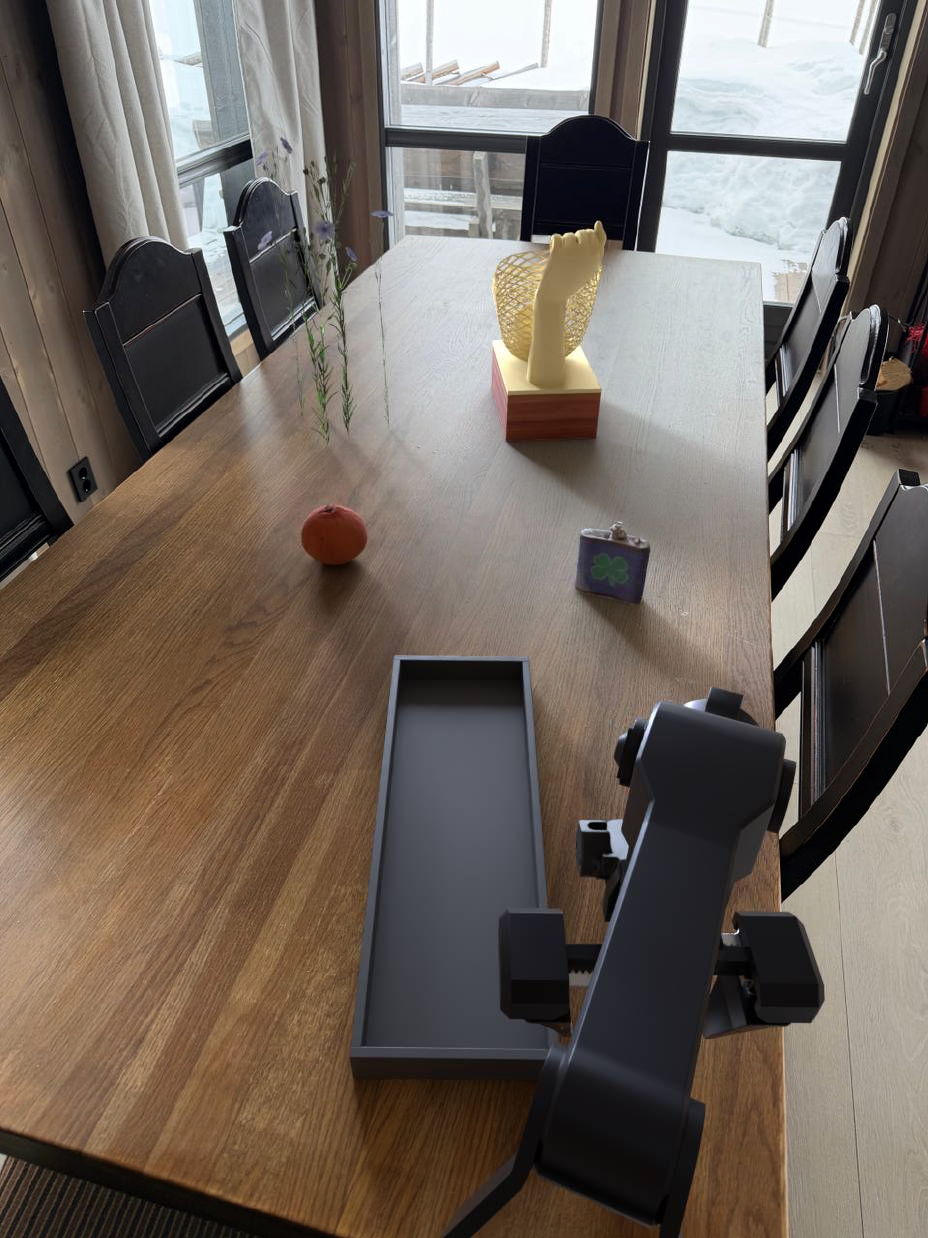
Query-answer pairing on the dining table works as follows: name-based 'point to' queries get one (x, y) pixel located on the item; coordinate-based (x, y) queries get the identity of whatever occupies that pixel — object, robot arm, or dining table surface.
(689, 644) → the dining table surface
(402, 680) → the black tray
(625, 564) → the flask
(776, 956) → the robot arm
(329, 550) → the fruit
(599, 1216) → the dining table surface
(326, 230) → the wildflower
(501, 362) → the raised fist statue
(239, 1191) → the dining table surface
